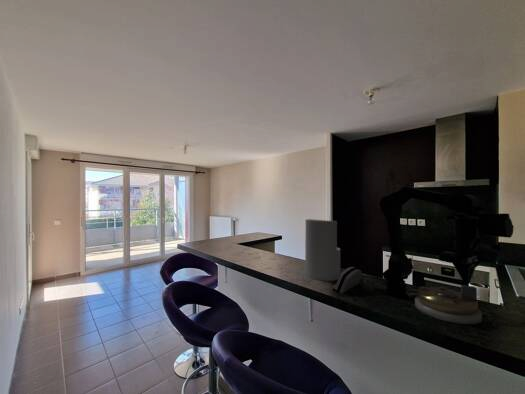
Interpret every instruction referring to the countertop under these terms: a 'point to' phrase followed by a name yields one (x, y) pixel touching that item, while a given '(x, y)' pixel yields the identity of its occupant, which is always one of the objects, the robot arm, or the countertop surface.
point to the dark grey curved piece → (348, 279)
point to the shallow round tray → (450, 299)
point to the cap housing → (449, 314)
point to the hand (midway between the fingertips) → (466, 283)
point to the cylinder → (322, 250)
